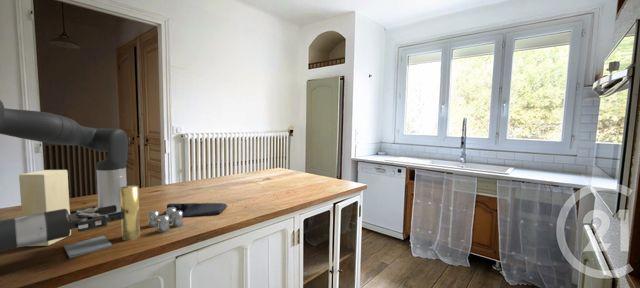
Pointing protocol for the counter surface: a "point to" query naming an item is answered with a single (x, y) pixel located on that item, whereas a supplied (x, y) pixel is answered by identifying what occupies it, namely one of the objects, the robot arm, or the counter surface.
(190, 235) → the counter surface
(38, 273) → the counter surface
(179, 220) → the steel spacer
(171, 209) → the steel spacer
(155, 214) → the steel spacer
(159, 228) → the steel spacer
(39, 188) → the cream rectangular block
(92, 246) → the slate pad
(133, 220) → the brass sleeve
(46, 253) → the counter surface
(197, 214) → the dark slate chunk
